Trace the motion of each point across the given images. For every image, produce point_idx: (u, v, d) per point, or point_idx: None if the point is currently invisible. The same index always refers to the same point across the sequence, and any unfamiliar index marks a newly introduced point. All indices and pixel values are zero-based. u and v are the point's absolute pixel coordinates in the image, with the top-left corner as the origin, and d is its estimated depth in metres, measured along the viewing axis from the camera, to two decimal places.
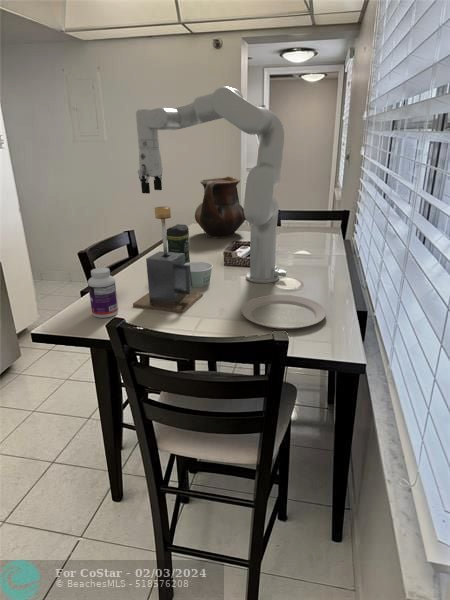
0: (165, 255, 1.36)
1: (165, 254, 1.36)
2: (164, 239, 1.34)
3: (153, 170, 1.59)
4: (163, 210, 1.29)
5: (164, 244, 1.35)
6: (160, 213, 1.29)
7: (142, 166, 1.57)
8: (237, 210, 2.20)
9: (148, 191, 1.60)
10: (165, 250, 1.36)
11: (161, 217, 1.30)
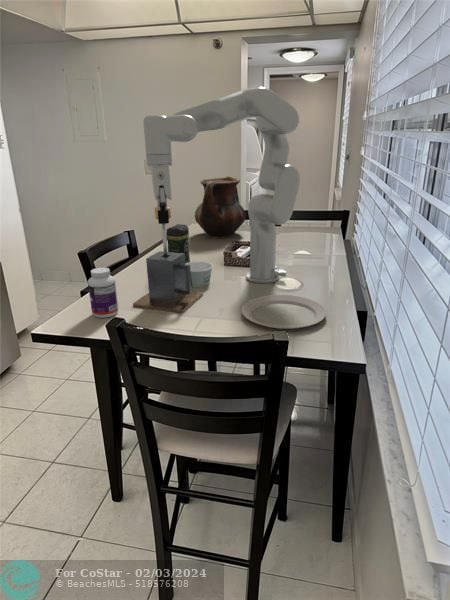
0: (165, 255, 1.36)
1: (165, 254, 1.36)
2: (164, 239, 1.34)
3: None
4: None
5: (164, 244, 1.35)
6: None
7: (161, 190, 1.24)
8: (237, 210, 2.20)
9: (167, 220, 1.30)
10: (165, 250, 1.36)
11: None
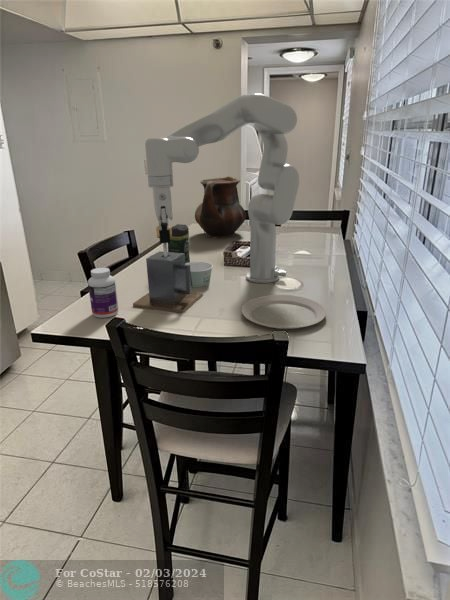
0: None
1: None
2: None
3: None
4: None
5: None
6: None
7: (163, 211, 1.26)
8: (237, 210, 2.20)
9: (169, 240, 1.32)
10: None
11: None
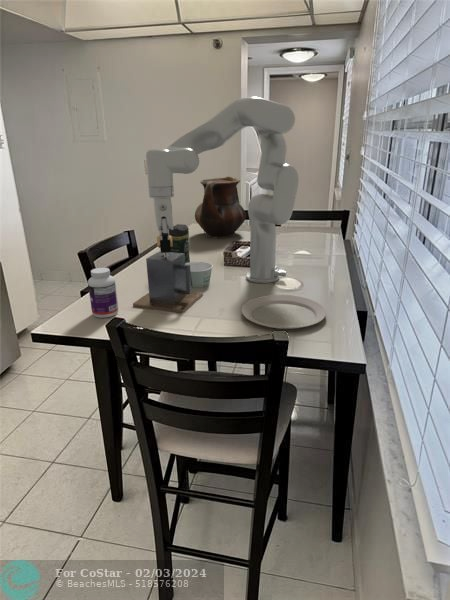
0: None
1: None
2: None
3: None
4: None
5: None
6: None
7: (163, 222, 1.27)
8: (237, 210, 2.20)
9: (169, 249, 1.33)
10: None
11: None
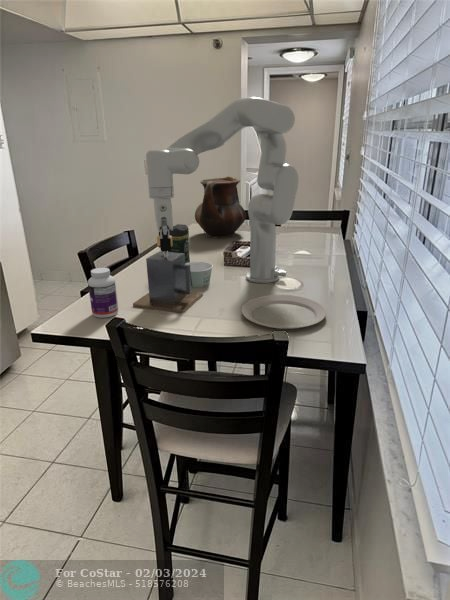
0: None
1: None
2: None
3: None
4: None
5: None
6: None
7: (163, 219, 1.27)
8: (237, 210, 2.20)
9: (169, 248, 1.31)
10: None
11: None
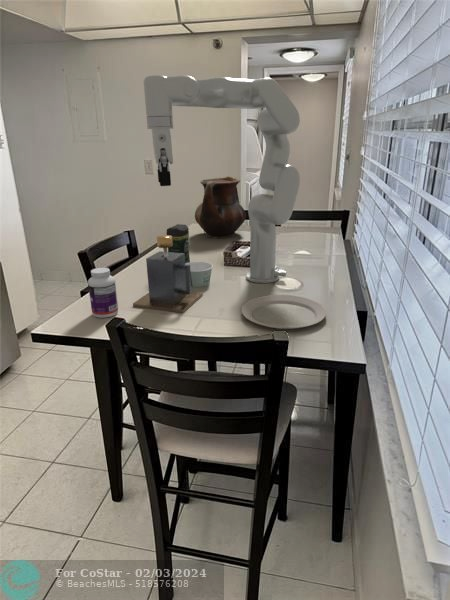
0: None
1: None
2: None
3: None
4: (165, 239, 1.32)
5: None
6: (162, 242, 1.33)
7: (162, 150, 1.21)
8: (237, 210, 2.20)
9: (169, 183, 1.25)
10: None
11: (163, 246, 1.33)
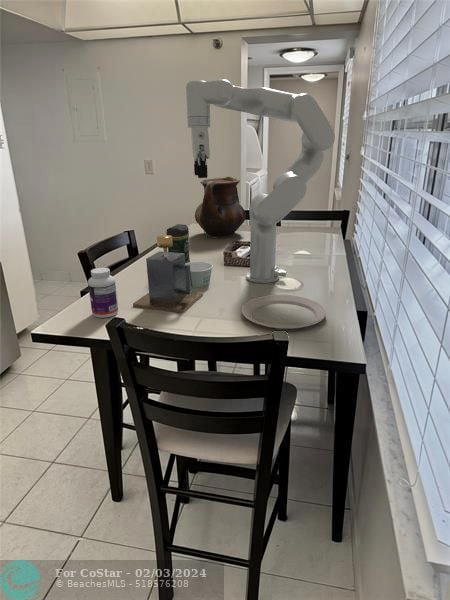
0: None
1: None
2: None
3: None
4: (165, 239, 1.32)
5: None
6: (162, 242, 1.33)
7: (201, 146, 1.37)
8: (237, 210, 2.20)
9: (206, 175, 1.42)
10: None
11: (163, 246, 1.33)
